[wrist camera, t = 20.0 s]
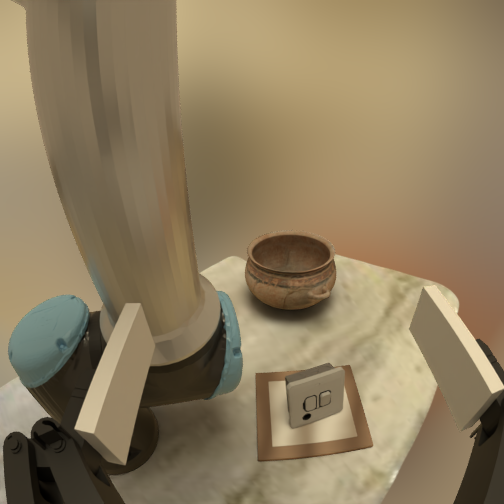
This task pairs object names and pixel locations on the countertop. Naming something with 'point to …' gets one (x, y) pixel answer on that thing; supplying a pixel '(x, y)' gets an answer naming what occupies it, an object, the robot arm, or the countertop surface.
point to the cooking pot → (290, 269)
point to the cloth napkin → (312, 434)
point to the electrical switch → (314, 394)
